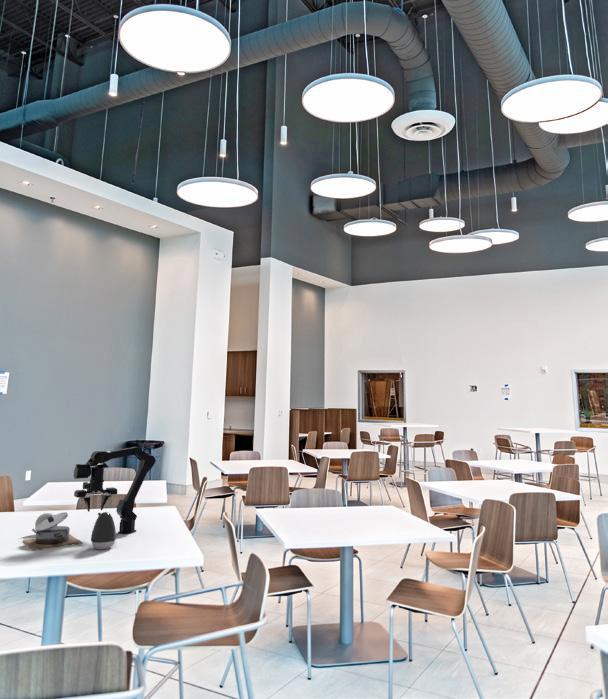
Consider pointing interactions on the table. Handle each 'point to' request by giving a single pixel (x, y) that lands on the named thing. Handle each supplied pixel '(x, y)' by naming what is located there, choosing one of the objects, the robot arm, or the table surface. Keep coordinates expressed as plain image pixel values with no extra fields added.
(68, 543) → the walnut trivet
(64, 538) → the cooking pot
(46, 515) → the donut
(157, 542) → the table surface
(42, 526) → the cooker lid
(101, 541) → the dark grey egg shape
